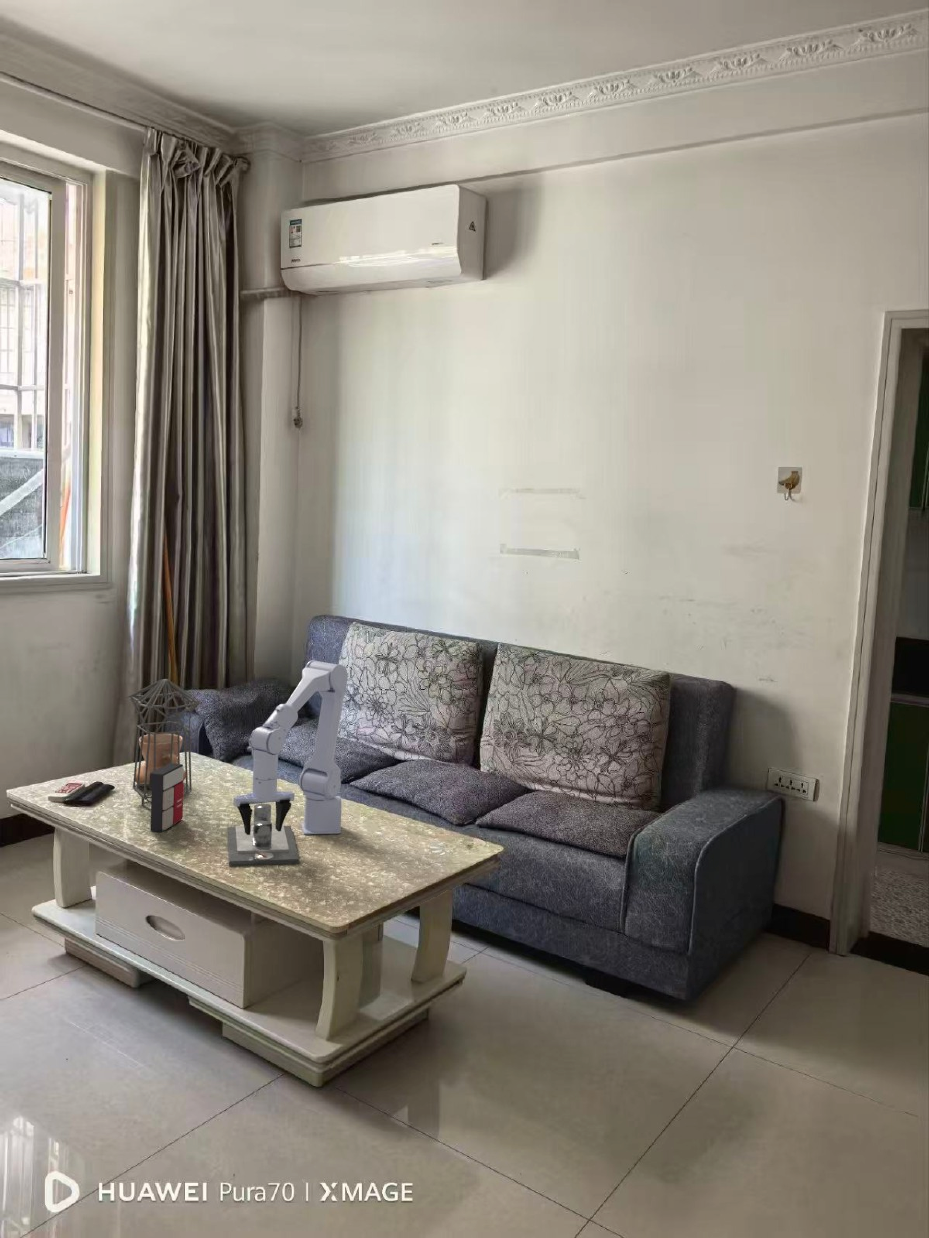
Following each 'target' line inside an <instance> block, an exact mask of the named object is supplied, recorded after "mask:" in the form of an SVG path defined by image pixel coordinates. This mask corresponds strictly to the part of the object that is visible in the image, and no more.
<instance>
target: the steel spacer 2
mask: <svg viewBox="0 0 929 1238" xmlns="http://www.w3.org/2000/svg"><path fill="white" fill-rule="evenodd" d="M272 825H273V823H272V821H271V822H269V821H257V822H255V823H254V822H253V825H252V826H253V845H254V846H257V847H266V846H270V845H271V839H272Z"/></svg>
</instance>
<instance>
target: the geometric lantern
mask: <svg viewBox="0 0 929 1238" xmlns="http://www.w3.org/2000/svg"><path fill="white" fill-rule="evenodd" d="M161 691H162V693H161ZM168 691H169V693H168ZM144 692H146V693H144ZM142 693H144V695H143V694H142ZM160 693H161V694H160ZM140 694H142V695H140ZM177 694H179V695H181V697H182V700H183V703H184V704H183V705H179V704H178V702H177V700H176V697H175V696H177ZM168 696H170V697H169V698H168ZM158 697H160V698H161V699H160V704H158V705H156V704H155V703H156V702H157V700H158ZM129 698H130V701H131V702H132V704H133V706H134V713H135V714H136V713H137V715H139V721H140V724H138V725H136V727H137V738H136V746H135V747H136V748H135V761H134V772H133V781H132V783H133V784H132V789H133V791H135V792H136V793H137V794H138V795H139V796H140V798H141V805H140V806H142V807H144V808H145V809H147V810H149V811H151V807H149V806H147V805H145V804H151V800H150V799H151V793H150V794H147V788H146V785H149V783H147V772H148V759H149V746H150V734H152V735H154V771H155V770H156V735H157V734H171V751H170V763H172V751H173V734H174V735H175V734H176V735H177V739H178V757H177V758H178V764H181V759H180V758H181V749H180V739H179V736H180V733H183V737H184V738H183V739H184V740H183V741H184V742H183V744H184V745H183V747H184V770H185V775H186V778H185V784H184V788H185V792H183V799H184V798H185V797H186V796H188V795H190V793H192V789H193V787H192V785H193V784H192V761H191V760H192V758H191V757H192V756H191V755H192V754H191V750H192V749H191V715H192V712H193V711H194V710H196V708H197V707H199V706H200V705H201V704H202V701H200V700H199V699H198V698H196V697H194V696H193V694H190V693H189V692H187V691H186V690H184V689H183V688H182V687H180V686H179V685H177V684H176V683H174V682H173V681H171V680H170V679H167V678H164V679H160V680H158V681H155V682H154V683H152V684H150V685H148V686H146V687H144V688H142V689H140V690H138V691H136V692H134V693H131V695H128V696H127V697H126V699H129ZM154 698H155V699H154ZM147 699H149V700H148V701H146V700H147ZM153 700H154V701H153ZM163 700H164V703H163ZM171 700H173V703H174V705H175V706H168V703H169V702H170V701H171ZM143 703H144V704H143ZM140 706H141V707H143V709H142V711H140ZM161 708H162V709H164V711H165V713H164V712H163V711H162V710H160V709H161ZM181 708H183V710H182V711H181V712H179V713H178V709H181ZM151 709H153V710H155V711H156V712H158V713H159V714H160V715H162V716H164V717H165V719H164V720H163V721H162V722H161V721H160V722H150V723H146V720H147V717H148V715H149V713H150V710H151ZM146 710H147V711H146ZM168 710H175V715H174V714H173V715H171V714H170V712H169V711H168ZM145 711H146V713H145V715H144V717H143V714H144V712H145ZM186 712H189V716H188V717H189V718H188V719H189V721H188V727H186V726H185V725H183V723H182V722H183V721H182V718H183V716H184V714H185V713H186ZM174 718H177V721H176V720H175V719H174ZM167 719H171V720H172V721H167ZM169 723H170V724H171V731H167V732H166V731H164V732H158V731H159V730H160V728H161V727H162V726H163V725H164V724H169ZM149 725H159V726H158V728H157V729H156V730H155V731H154V732H151V731H149V729H148V726H149ZM175 725H176V726H177V729H176V731H174V730H175ZM180 726H181V728H182V730H180ZM145 734H146V735H148V745H147V758H146V762H145V763H146V771H145V783H142V784H139V778H140V768H141V766H142V759H143V755H142V748H143V738H144V735H145ZM140 735H141V736H140ZM140 737H142V738H141V748H140V745H139V738H140ZM187 739H188V741H187ZM187 743H188V745H187ZM187 746H188V751H187ZM139 749H140V750H139ZM138 757H139V758H138ZM137 766H138V768H137ZM137 769H138V778H137V783H136V782H135V781H136V770H137ZM188 778H189V779H188ZM142 785H144V787H143V786H142ZM140 787H143V792H142V790H141V789H140ZM145 800H146V801H145Z"/></svg>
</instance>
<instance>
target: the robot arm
mask: <svg viewBox="0 0 929 1238" xmlns="http://www.w3.org/2000/svg"><path fill="white" fill-rule="evenodd" d="M348 679H349V673H348V670H346V668H345V666H344V665H343V664H341V663H339V664H336V663H332V662H331V663H330V662H323V661H319V660H316V659H311V660H309V661H308V662H307V664H306V665H305V667H304V668H303V669H302V671H301V680H300V682H299V683H298V685H297V686H296V688H295V689H294V691H293V692H292V693H291V695H290V697H289V698H288V700H287V701H286V702H285V703H280V704H279V705H277V706H276V707H275V709H274V711H273V712H272V713H271V714H270V716H269V717H268V718H267V719H266V720H265V722H264V723H263V724H262V726H259V727H256V728H255V729H254V730H252V732H251V735H250V738H249V739H248V745H249V747H250V750H251V756H252V758H253V765H252V766H253V769H252V770H253V771H252V791H251V792H250V793H246V794H242V795H237V796H236V795H235V796H233V806H235V807H237V809H238V812H239V814H240V816H241V820H242V823H243V826H244V829H245V833H246V834H247V835H250V832H251V826H252V822H251V821H252V815H253V812H254V809H252V808H251V805H256V804H269V803H275V823H274V825H275V827H276V830H277V831H278V832H279V831H281V829H282V825H284V822H285V819H286V816H287V815H288V813H289V811H290V810H291V808H292V802H295V792H293V791H292V790H291V791H290V790H289V791H287V790H286V791H284V790H283V791H278V770H279V768H278V765H279V764H278V763H279V753H280V751H281V750H283V747H284V746H285V740H286V738H287V734H288V732H289V731H290V729H292V727H293V726H294V725H295V723H296V722H297V720H298V718H299V715H298V711H299V710H301V709H302V707H303V706H304V705H305V704H306V703H307V702H308V701H309V700H310V698H311V697H312V696H314V694H315V693H316V692H318V694H319V695H320V696H321V698H322V700H321V706H320V712H319V718H318V725H317V729H316V735H315V741H314V749H313V755H312V758H310V759H309V760H308V761H306V762H305V763H304V764H303V769H302V772H301V773H300V776H299V779H298V786H299V787H298V788H300V790H301V791H302V795H303V797H305V798H304V819H303V822H301V823H300V826H301V829H302V833H303V834H304V835H325V834H326V835H327V834H329V835H330V834H332V835H333V834H334V835H335V834H341V833H342V832H341V827H342V797H341V796H340V795H338V794H339V793H340V791H341V787H342V782H341V772H342V770H341V768H340V767H339V766H338V764H337V763H336V762H335V760H334V758H335V753H336V747H337V746H336V745H337V740H338V735H339V734H338V733H339V728H340V721H341V716H342V715H341V714H342V710H343V703H344V699H345V695H346V690H347V684H348Z"/></svg>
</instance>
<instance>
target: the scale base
mask: <svg viewBox="0 0 929 1238" xmlns="http://www.w3.org/2000/svg"><path fill="white" fill-rule="evenodd" d="M284 830H285V834H286V839H287V843H288V847H289V852H260V853H237V841H236V829H235V826H227V827H226V833H227V834H226V835H227V836H226V837H227V853H228V855H229V856H228V865H229V867H242V866H243V867H247V866H271V865H272V866H273V865H274V866H278V864H279V866H280V865H299V864H300V857H299V854H298V848H297V846H296V841H295V837H294V833H293V832H294V831H293V829H292V826H291V825H284Z"/></svg>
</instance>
